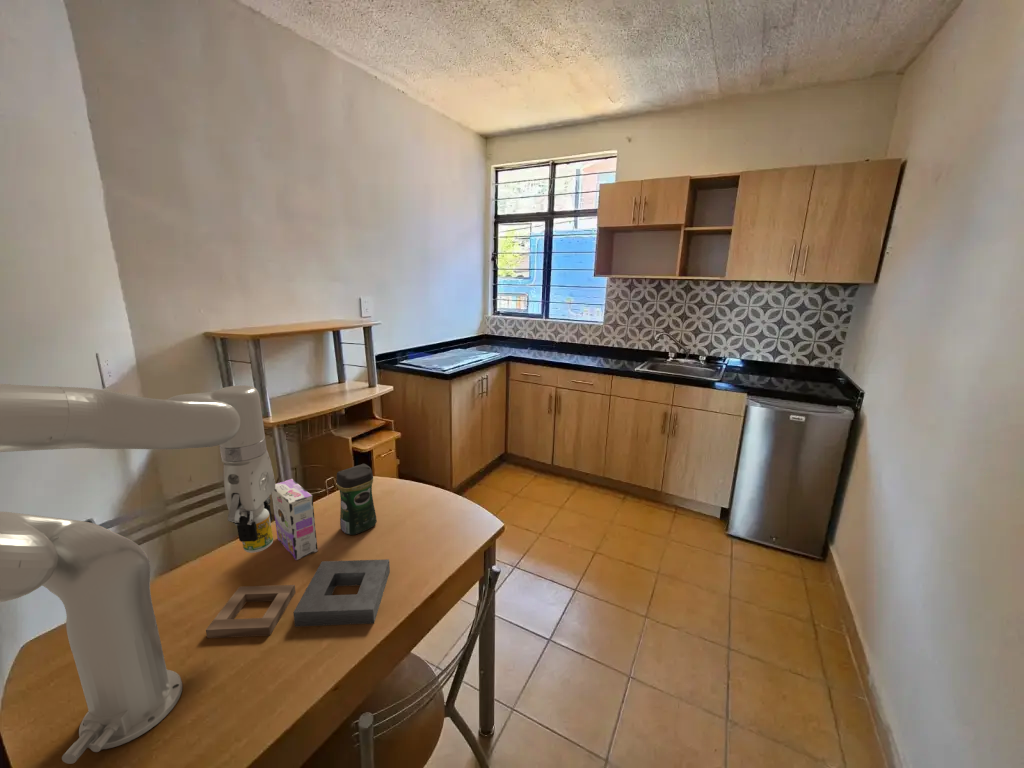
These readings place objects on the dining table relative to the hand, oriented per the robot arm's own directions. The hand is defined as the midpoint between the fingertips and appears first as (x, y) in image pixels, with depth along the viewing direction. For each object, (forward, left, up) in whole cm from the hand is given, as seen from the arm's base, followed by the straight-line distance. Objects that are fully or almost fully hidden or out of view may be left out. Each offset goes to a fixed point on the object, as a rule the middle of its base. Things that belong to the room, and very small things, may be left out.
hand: (256, 530), depth 85 cm
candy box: (+23, +3, -20) cm, 31 cm away
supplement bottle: (0, 0, -4) cm, 4 cm away
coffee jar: (+31, -11, -20) cm, 39 cm away
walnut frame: (-1, +2, -20) cm, 20 cm away
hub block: (+3, -16, -20) cm, 25 cm away
